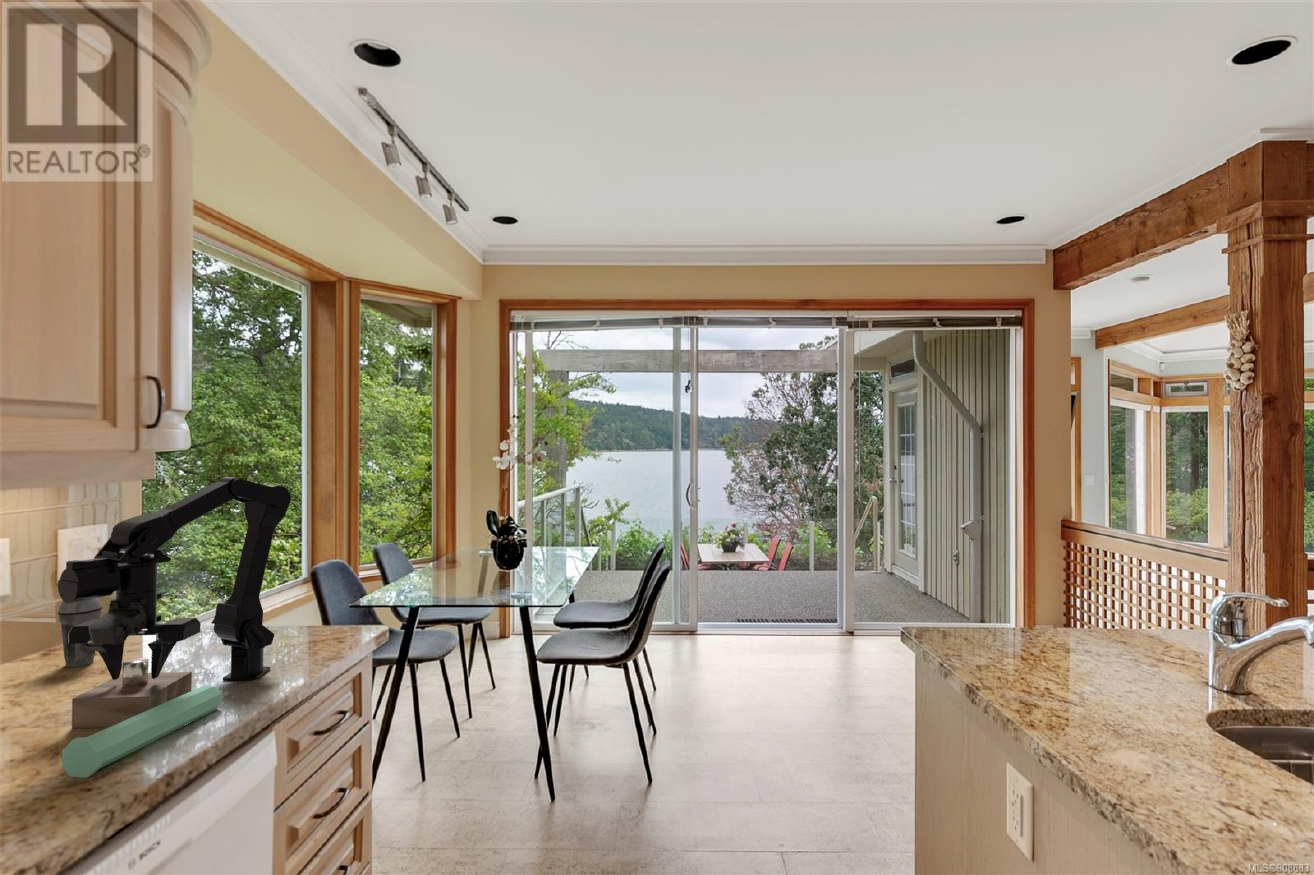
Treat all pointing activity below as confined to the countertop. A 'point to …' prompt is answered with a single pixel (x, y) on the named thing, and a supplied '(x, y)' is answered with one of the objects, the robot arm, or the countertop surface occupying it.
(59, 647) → the countertop surface
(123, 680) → the silver metal peg
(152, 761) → the countertop surface
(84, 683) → the countertop surface
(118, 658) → the robot arm
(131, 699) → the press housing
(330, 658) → the countertop surface
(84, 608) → the beverage cup
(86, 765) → the mint green octagonal rod
